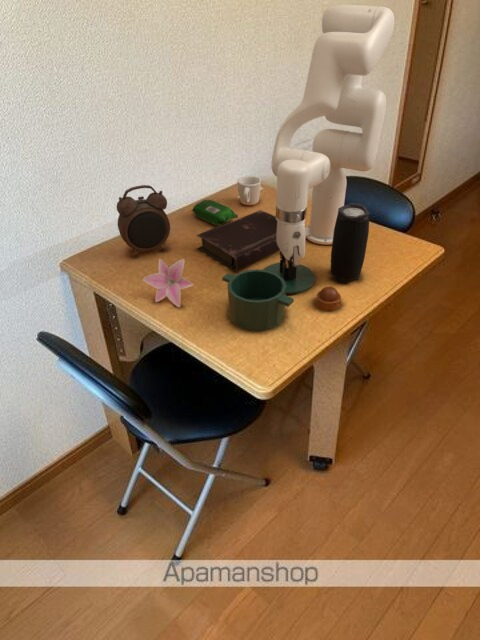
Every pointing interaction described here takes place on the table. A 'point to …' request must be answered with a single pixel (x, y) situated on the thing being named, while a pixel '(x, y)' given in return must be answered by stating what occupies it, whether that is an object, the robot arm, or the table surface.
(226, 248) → the diary
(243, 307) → the pot
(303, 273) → the pot lid
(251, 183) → the cup
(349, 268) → the portable speaker
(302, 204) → the robot arm
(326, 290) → the brown domed piece
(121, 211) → the alarm clock
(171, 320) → the table surface
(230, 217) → the snack package
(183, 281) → the lily
